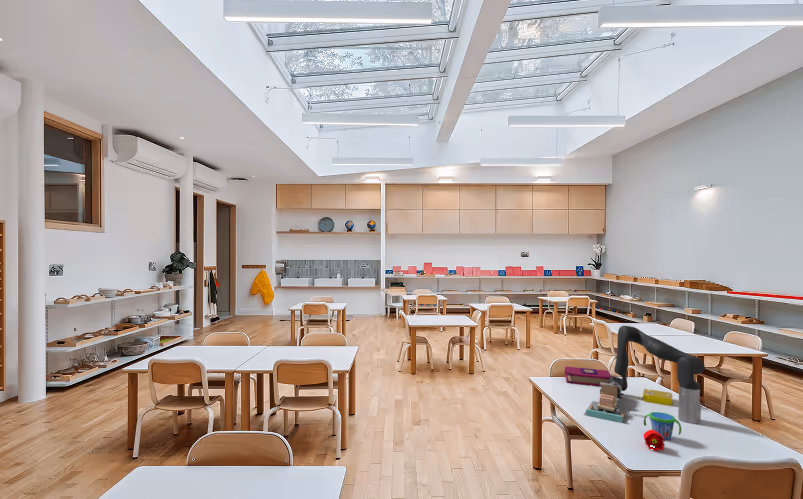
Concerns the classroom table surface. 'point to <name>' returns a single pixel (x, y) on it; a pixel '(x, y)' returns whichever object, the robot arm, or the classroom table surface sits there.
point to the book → (586, 376)
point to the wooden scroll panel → (608, 398)
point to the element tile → (657, 397)
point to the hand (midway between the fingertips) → (609, 397)
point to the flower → (654, 440)
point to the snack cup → (663, 424)
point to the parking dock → (619, 410)
